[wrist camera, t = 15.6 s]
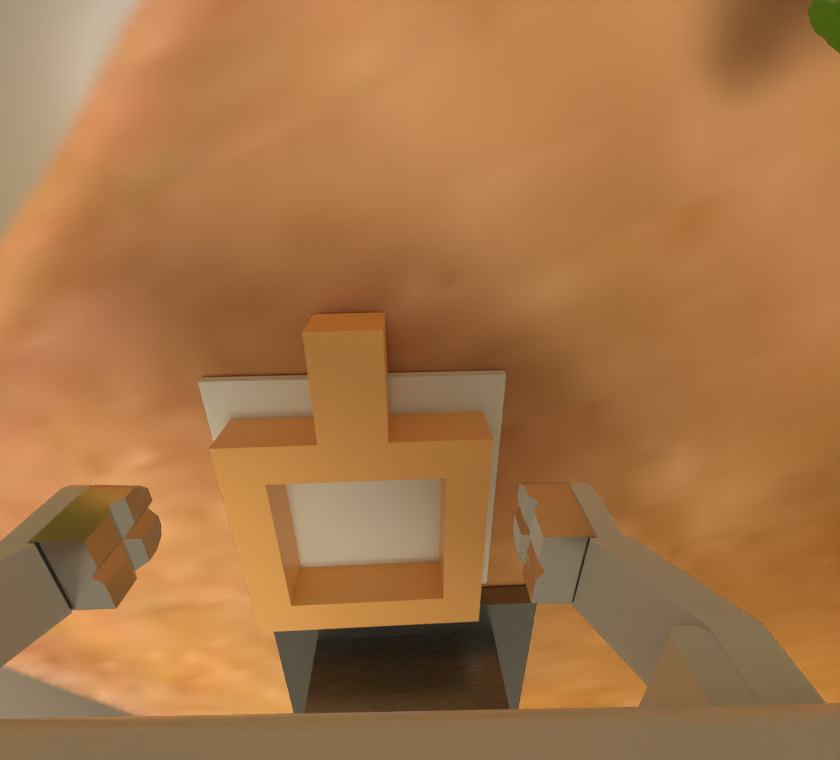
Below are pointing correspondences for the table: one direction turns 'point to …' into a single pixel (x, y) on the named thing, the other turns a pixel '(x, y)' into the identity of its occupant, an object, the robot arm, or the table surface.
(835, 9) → the snack cup
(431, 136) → the table surface
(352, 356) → the orange handled frame
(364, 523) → the mat
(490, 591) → the stand
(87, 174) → the table surface
